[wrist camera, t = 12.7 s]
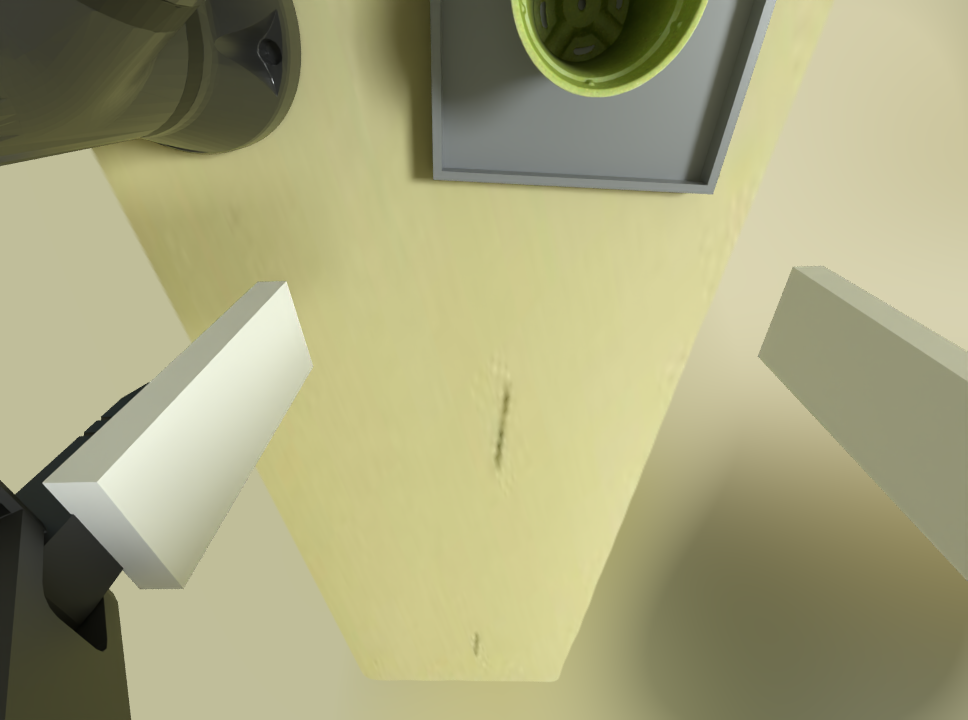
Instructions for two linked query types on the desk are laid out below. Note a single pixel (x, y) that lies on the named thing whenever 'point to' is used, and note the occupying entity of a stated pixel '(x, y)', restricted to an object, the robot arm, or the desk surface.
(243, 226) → the desk surface
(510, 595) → the desk surface
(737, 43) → the tray
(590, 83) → the plant pot
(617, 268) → the desk surface
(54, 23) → the robot arm
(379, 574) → the desk surface
